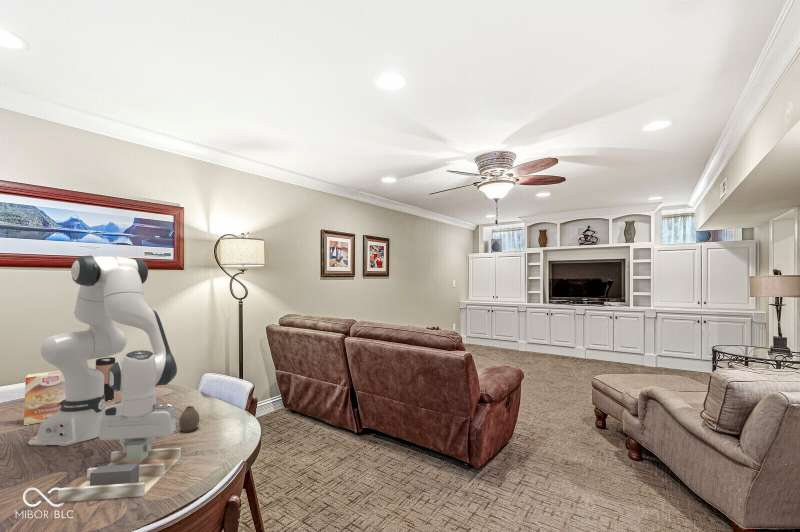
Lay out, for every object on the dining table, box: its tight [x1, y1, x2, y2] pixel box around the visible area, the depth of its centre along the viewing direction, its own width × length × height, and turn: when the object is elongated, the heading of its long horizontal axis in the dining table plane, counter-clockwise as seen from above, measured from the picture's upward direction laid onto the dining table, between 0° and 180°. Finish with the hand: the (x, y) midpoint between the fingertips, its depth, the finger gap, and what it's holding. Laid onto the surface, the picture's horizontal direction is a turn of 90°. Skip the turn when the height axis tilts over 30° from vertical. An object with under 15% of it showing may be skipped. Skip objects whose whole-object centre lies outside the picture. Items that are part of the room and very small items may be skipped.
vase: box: [178, 405, 200, 433], centre depth 144 cm, size 7×7×9 cm
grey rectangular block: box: [126, 438, 149, 463], centre depth 113 cm, size 4×4×6 cm
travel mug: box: [95, 356, 116, 402], centre depth 182 cm, size 8×8×20 cm
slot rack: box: [57, 447, 182, 503], centre depth 107 cm, size 20×22×4 cm
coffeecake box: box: [23, 370, 66, 426], centre depth 156 cm, size 15×7×20 cm, turn 131°
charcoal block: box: [90, 464, 139, 486], centre depth 102 cm, size 10×4×5 cm, turn 97°
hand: (137, 452), depth 112 cm, fingers closed on grey rectangular block, 4 cm apart
